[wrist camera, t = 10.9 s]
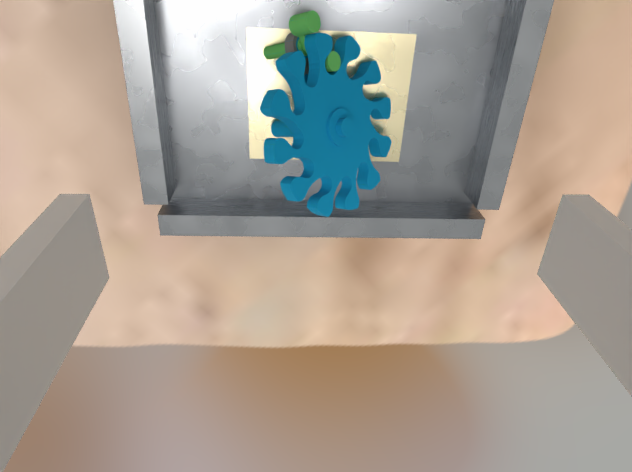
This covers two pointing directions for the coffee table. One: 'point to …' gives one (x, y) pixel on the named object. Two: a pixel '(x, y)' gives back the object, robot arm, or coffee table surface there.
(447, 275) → the coffee table surface
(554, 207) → the coffee table surface
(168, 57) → the gray metal tray
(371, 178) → the gear
